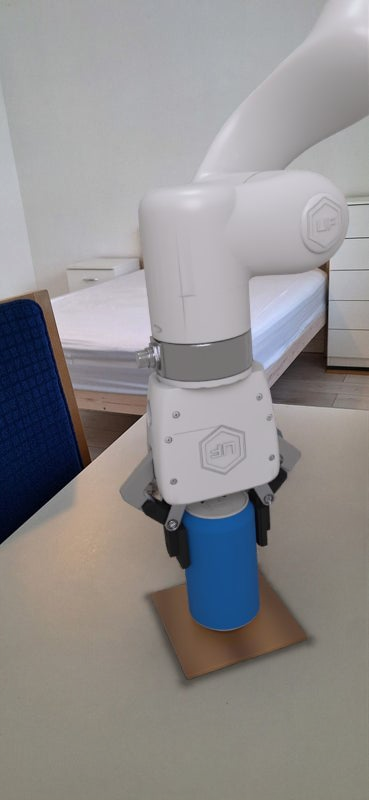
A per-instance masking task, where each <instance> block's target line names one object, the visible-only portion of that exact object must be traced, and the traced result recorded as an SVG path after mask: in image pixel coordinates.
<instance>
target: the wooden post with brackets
mask: <svg viewBox="0 0 369 800" xmlns="http://www.w3.org/2000/svg"><path fill="white" fill-rule="evenodd" d="M156 489H157V482H155V481H151V482H150V484H149V485H148V486H147V487H146V488H145V491H146V494H150V495H152V496H153V491H156Z"/></svg>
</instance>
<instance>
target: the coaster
mask: <svg viewBox="0 0 369 800" xmlns="http://www.w3.org/2000/svg"><path fill="white" fill-rule="evenodd" d="M258 581H259V599H260V608H259V611H258V613H257V615H256V616H255V618H254V619H253V620H252V621H251V622H249V623H248V624H246V625H244V626H242V627H240V628H237V629H234V630H229V631H218V630H214V629H210V628H207V627H204V626H202V625H200V624H199V623H198V622H196V621H195V620H194V619H193V617H192V616H191V613H190V610H189V603H188V594H187V585H186V583H185V584H180V585H177V586H173V587H170V588H167V589H163V590H160V591H156V592H153V593H151V594H150V596H151V599H152V602H153V604H154V607H155V608H156V610H157V613H158V616H159V618H160V620H161V622H162V625H163V627H164V629H165V631H166V634H167V637H168V638H169V641H170V643H171V646H172V649H173V650H174V652H175V656H176V657H177V659H178V661H179V664H180V666H181V669H182V671H183V674H184V676H185V678H186V680H191V679H194V678H198V677H200V676H203V675H206V674H208V673H212V672H214V671H218V670H220V669H224V668H227V667H230V666H232V665H235V664H238V663H242V662H244V661H248V660H251V659H254V658H256V657H259V656H262V655H266V654H268V653H271V652H274V651H277V650H281V649H283V648H286V647H289V646H292V645H296V644H298V643H301V642H304V641H307V640H308V634H306V632H305V631H304V630H303V628H302V627H301V626H300V624H299V623H298V621H297V620H296V619H295V617H294V616H293V614H291V612H290V611H289V609H288V608H287V607H286V605H285V604H284V603H283V601H282V600H281V598H280V597H279V595H277V592H276V591H275V590H274V589H273V588H272V586H271V585H270V584H269V583H268V581H267V580H266V578H265V577H264V575H263V574H262V573H261V571H260V570H259V569H258Z"/></svg>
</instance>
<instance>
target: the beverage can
mask: <svg viewBox="0 0 369 800" xmlns="http://www.w3.org/2000/svg"><path fill="white" fill-rule="evenodd" d="M246 491H247V490H244V491H240V492H236V493H232V494H229V495H225V496H221V497H217V498H213V499H209V500H205V501H201V502H197V503H193V504H188V505H186V508H185V510H184V513H183V516H182V519H181V521H182V523H183V524H184V526H185V527H186V530H187V537H188V546H189V556H190V566H189V568H187V569H184V575H185V584H186V585H187V594H188V603H189V610H190V613H191V616H192V617H193V619H194V620H195V621H196V622H198V623H199V624H200V625H202V626H204V627H207V628H210V629H214V630H218V631H229V630H234V629H237V628H240V627H242V626H244V625H246V624H248V623H249V622H251V621H252V620H253V619H254V618H255V616H256V615H257V613H258V611H259V608H260V599H259V581H258V570H259V565H258V548H257V546H258V545H257V543H256V529H255V512H254V506H253V504H252V502H251V501H250V500H249V497H248V494H247V492H246Z"/></svg>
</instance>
